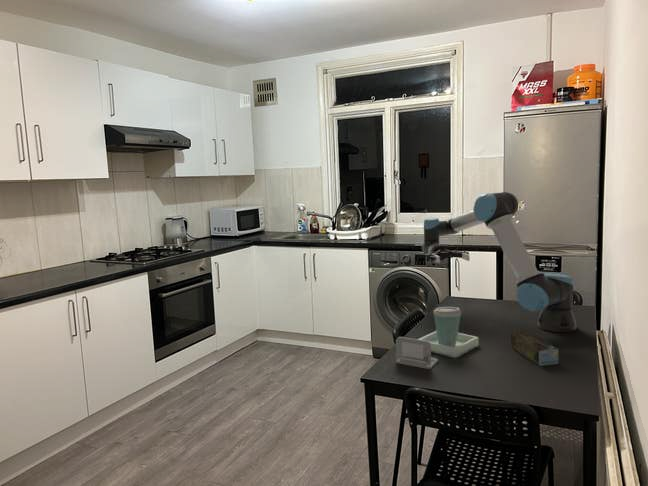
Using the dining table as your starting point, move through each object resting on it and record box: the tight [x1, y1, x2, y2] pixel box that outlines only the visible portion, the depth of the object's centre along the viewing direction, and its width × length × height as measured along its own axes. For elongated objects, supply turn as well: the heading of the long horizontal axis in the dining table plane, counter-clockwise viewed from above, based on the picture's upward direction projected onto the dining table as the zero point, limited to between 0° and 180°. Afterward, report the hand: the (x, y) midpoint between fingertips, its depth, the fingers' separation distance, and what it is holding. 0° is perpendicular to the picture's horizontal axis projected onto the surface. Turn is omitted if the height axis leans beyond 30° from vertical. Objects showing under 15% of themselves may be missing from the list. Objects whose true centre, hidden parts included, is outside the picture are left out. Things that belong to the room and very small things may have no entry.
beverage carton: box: [511, 330, 560, 367], centre depth 182 cm, size 8×19×7 cm, turn 8°
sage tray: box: [417, 330, 480, 359], centre depth 194 cm, size 17×17×4 cm
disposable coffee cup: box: [433, 306, 462, 347], centre depth 193 cm, size 11×11×15 cm
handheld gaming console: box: [395, 336, 439, 370], centre depth 180 cm, size 13×9×10 cm
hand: (453, 258), depth 220 cm, fingers open, 13 cm apart
